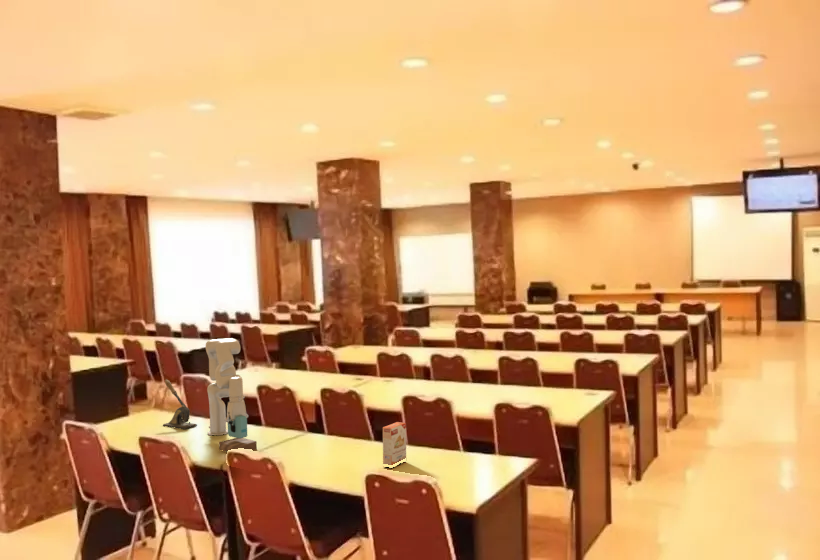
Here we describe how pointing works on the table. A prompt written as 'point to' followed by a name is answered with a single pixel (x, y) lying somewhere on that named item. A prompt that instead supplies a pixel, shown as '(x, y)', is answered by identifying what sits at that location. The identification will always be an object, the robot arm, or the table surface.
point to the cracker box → (394, 443)
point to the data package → (239, 427)
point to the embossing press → (179, 413)
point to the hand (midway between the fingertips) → (237, 430)
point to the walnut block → (237, 444)
